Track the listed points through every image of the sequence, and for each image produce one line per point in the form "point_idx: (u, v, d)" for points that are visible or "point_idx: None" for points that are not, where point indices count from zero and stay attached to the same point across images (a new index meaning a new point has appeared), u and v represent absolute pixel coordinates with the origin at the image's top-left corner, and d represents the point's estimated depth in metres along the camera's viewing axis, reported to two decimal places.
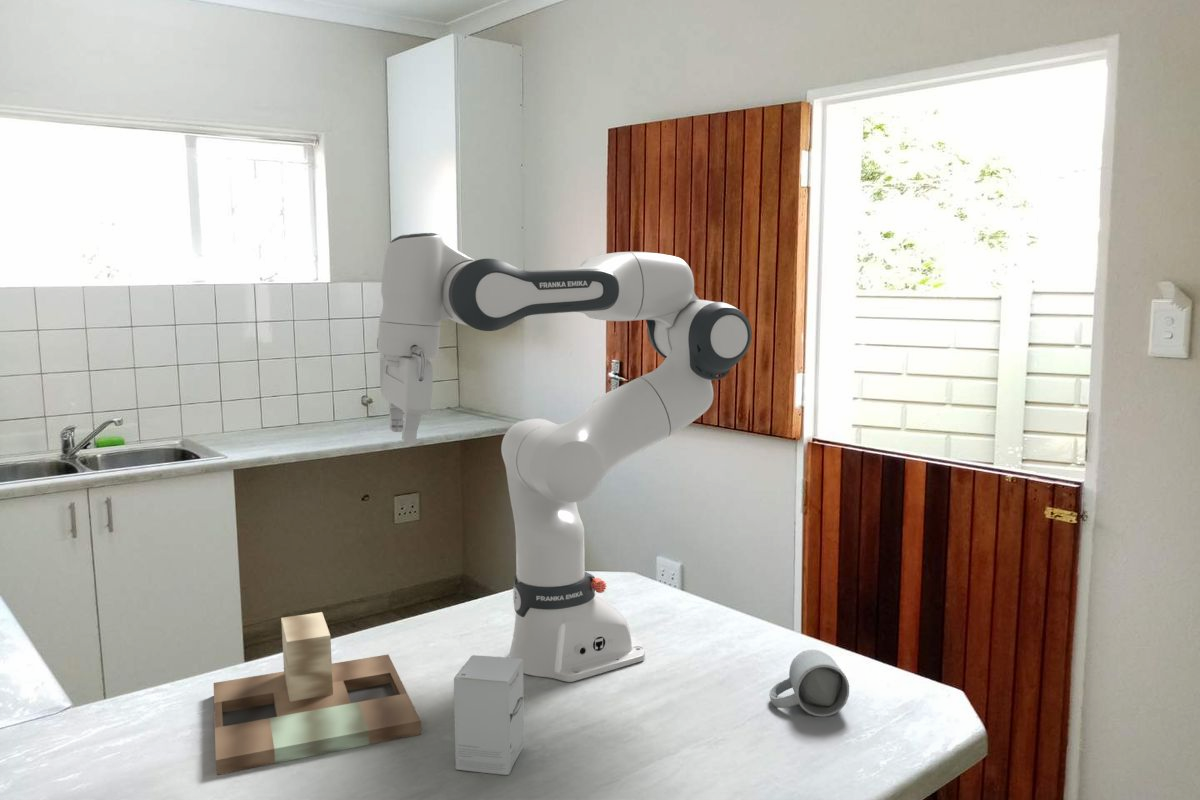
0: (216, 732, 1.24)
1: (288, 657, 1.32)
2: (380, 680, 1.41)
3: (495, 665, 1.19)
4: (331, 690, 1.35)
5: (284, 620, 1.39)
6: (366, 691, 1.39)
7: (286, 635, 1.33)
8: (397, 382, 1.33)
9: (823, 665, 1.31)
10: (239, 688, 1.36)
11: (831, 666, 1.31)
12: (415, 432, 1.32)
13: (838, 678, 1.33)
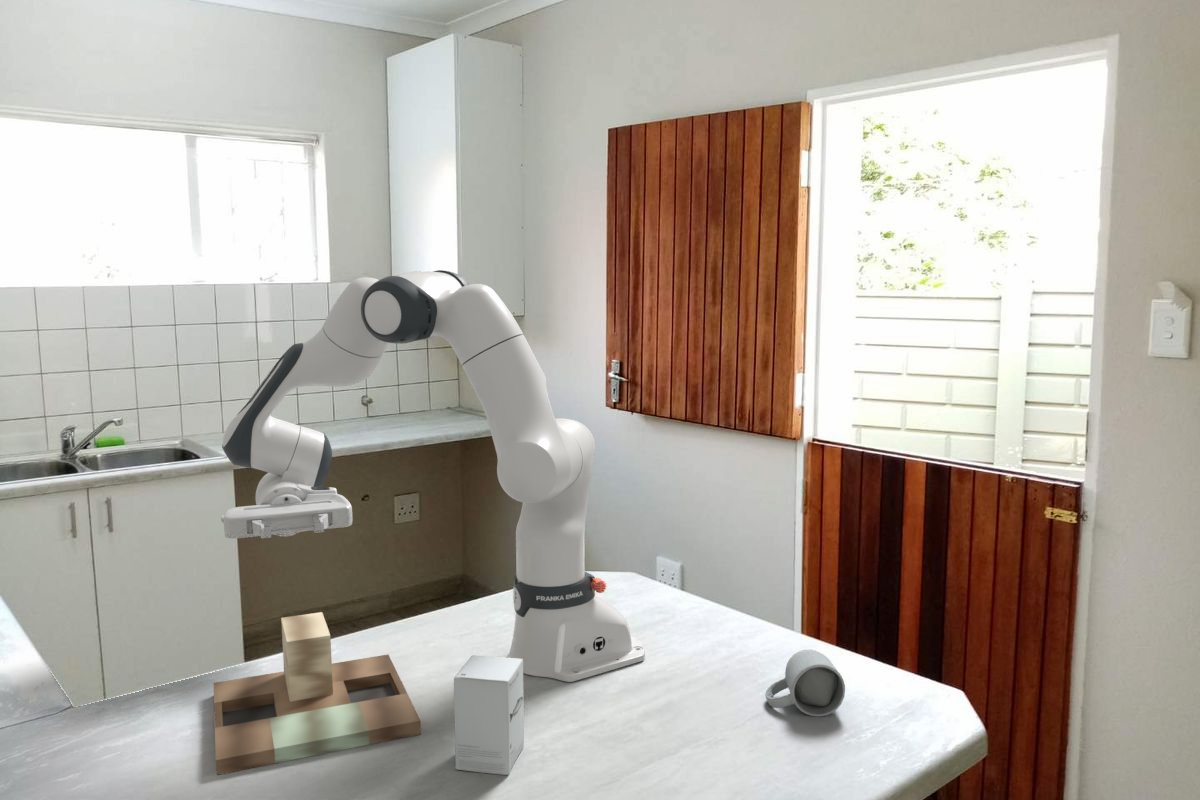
0: (216, 732, 1.24)
1: (288, 657, 1.32)
2: (380, 680, 1.41)
3: (495, 665, 1.19)
4: (331, 690, 1.35)
5: (284, 620, 1.39)
6: (366, 691, 1.39)
7: (286, 635, 1.33)
8: None
9: (819, 665, 1.31)
10: (239, 688, 1.36)
11: (827, 666, 1.31)
12: (260, 526, 1.46)
13: (834, 678, 1.33)
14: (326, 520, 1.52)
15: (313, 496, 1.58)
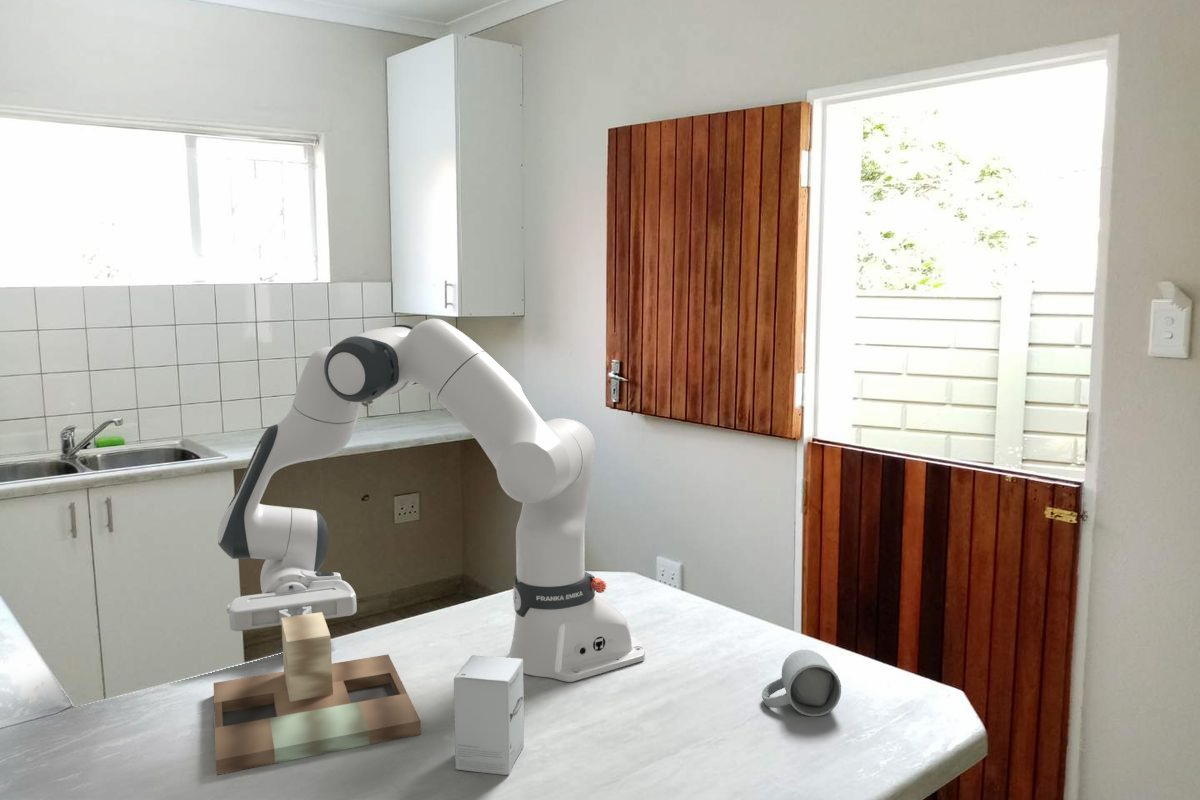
0: (216, 732, 1.24)
1: (288, 657, 1.32)
2: (380, 680, 1.41)
3: (495, 665, 1.19)
4: (331, 690, 1.35)
5: (284, 620, 1.39)
6: (366, 691, 1.39)
7: (286, 635, 1.33)
8: None
9: (815, 665, 1.31)
10: (239, 688, 1.36)
11: (823, 666, 1.31)
12: None
13: (830, 678, 1.33)
14: (310, 613, 1.52)
15: (317, 584, 1.60)
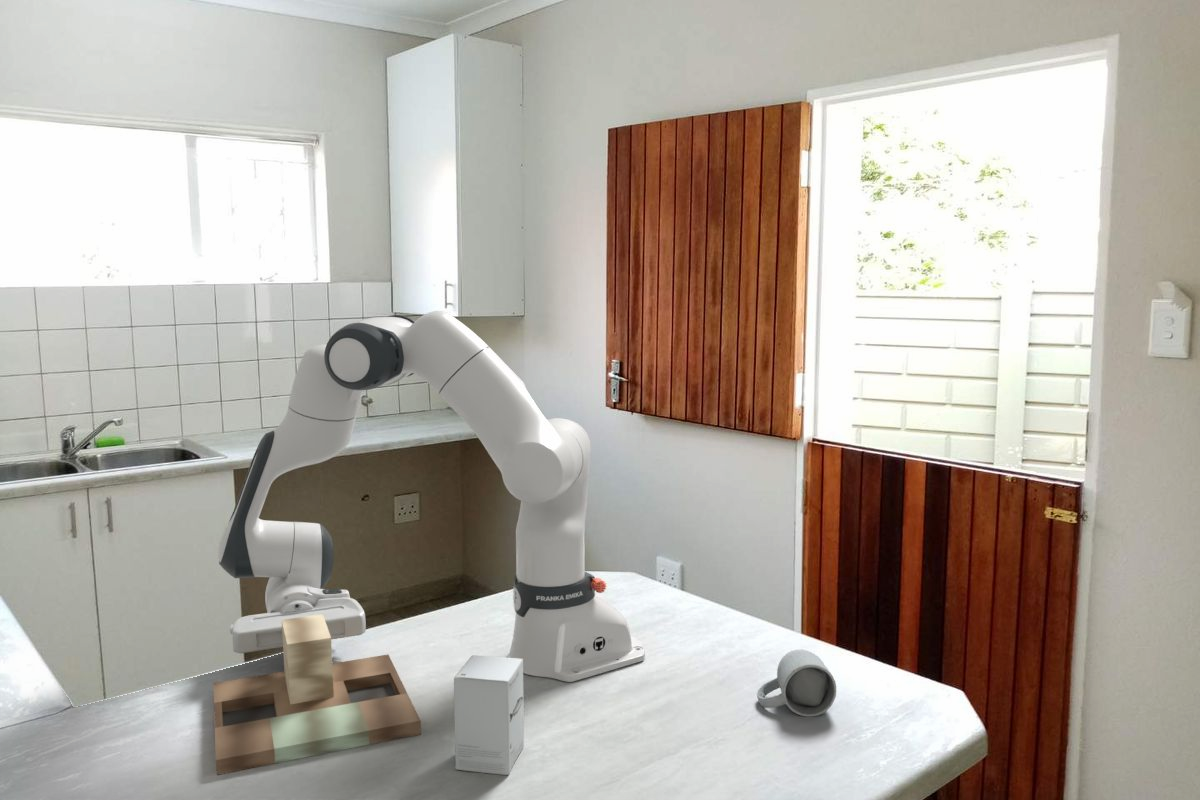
0: (216, 732, 1.24)
1: (288, 660, 1.31)
2: (380, 680, 1.41)
3: (495, 665, 1.19)
4: (332, 693, 1.34)
5: (284, 622, 1.38)
6: (366, 691, 1.39)
7: (286, 637, 1.33)
8: None
9: (810, 665, 1.31)
10: (239, 688, 1.36)
11: (818, 666, 1.31)
12: None
13: (825, 678, 1.33)
14: None
15: (325, 602, 1.52)
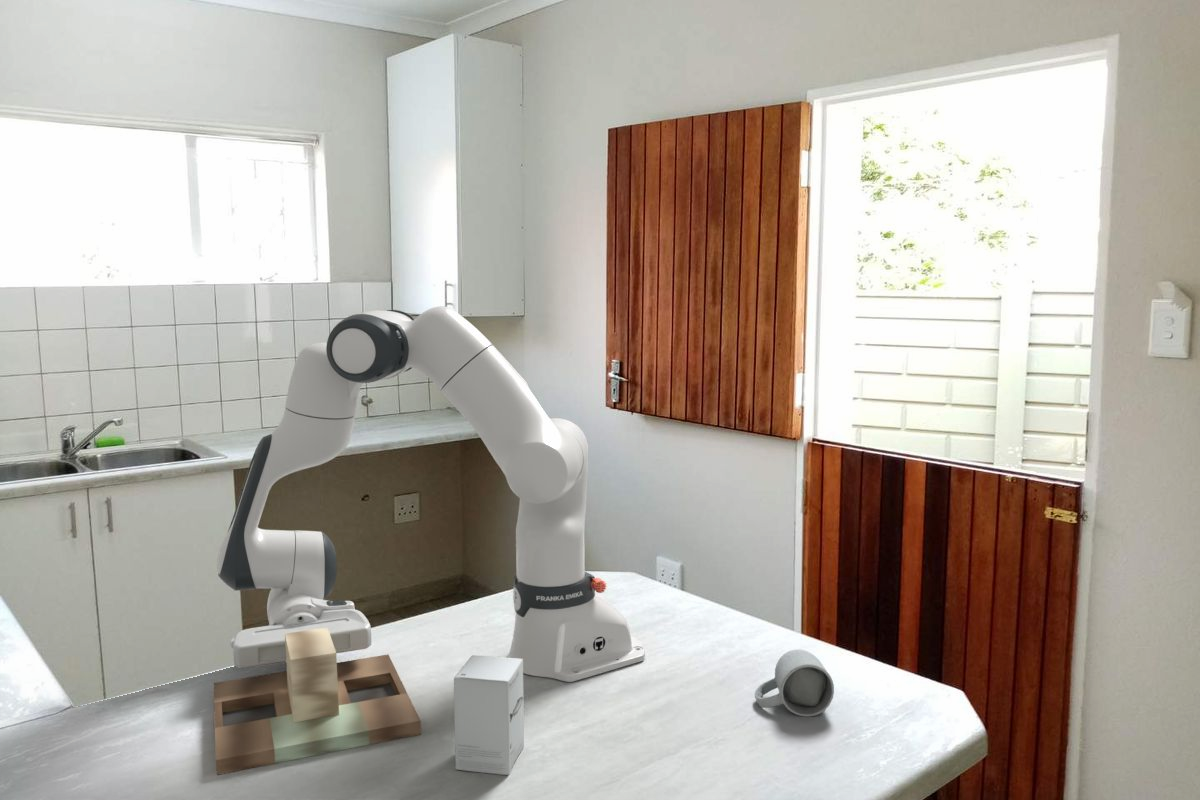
0: (216, 732, 1.24)
1: (292, 676, 1.25)
2: (380, 680, 1.41)
3: (495, 665, 1.19)
4: (337, 710, 1.28)
5: (288, 636, 1.33)
6: (366, 691, 1.39)
7: (290, 652, 1.27)
8: None
9: (808, 665, 1.31)
10: (239, 688, 1.36)
11: (816, 666, 1.31)
12: None
13: (823, 678, 1.33)
14: None
15: (329, 614, 1.47)
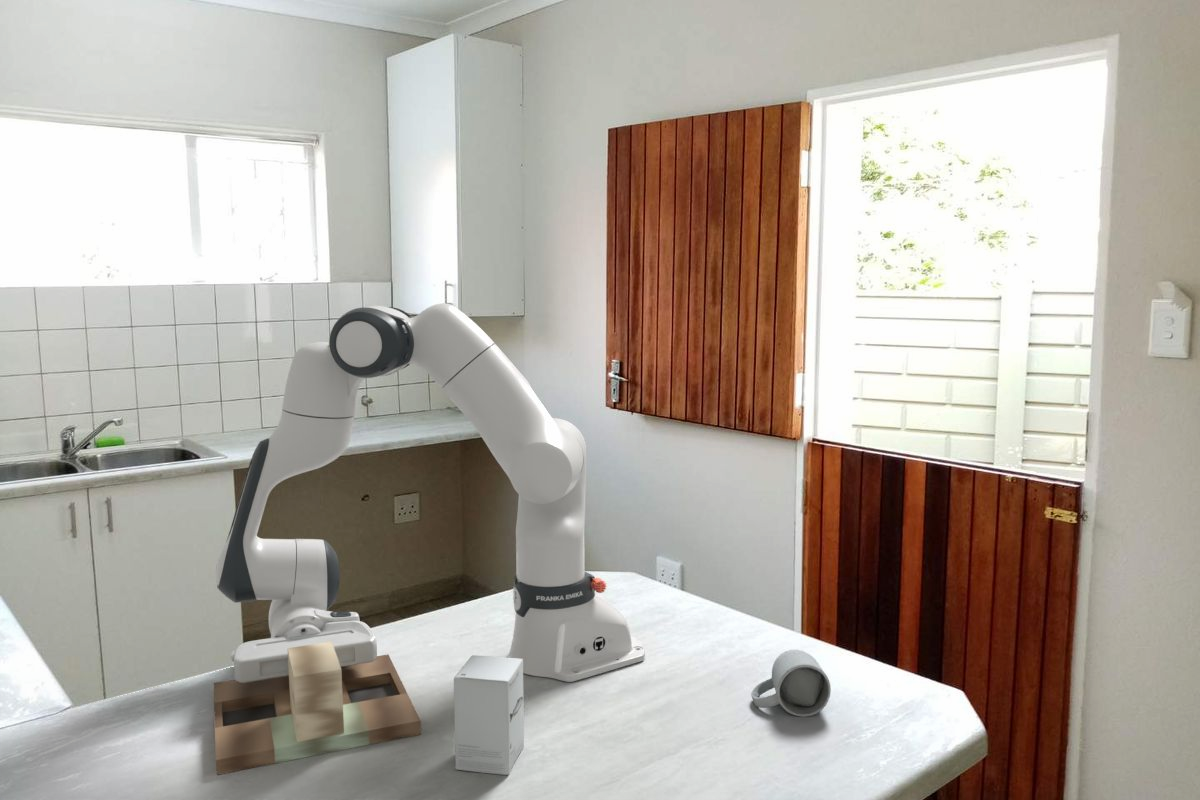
0: (216, 732, 1.24)
1: (295, 693, 1.20)
2: (380, 680, 1.41)
3: (495, 665, 1.19)
4: (342, 729, 1.23)
5: (291, 651, 1.28)
6: (366, 691, 1.39)
7: (293, 669, 1.22)
8: None
9: (804, 665, 1.31)
10: (239, 688, 1.36)
11: (812, 666, 1.31)
12: None
13: (820, 678, 1.33)
14: None
15: (333, 626, 1.42)
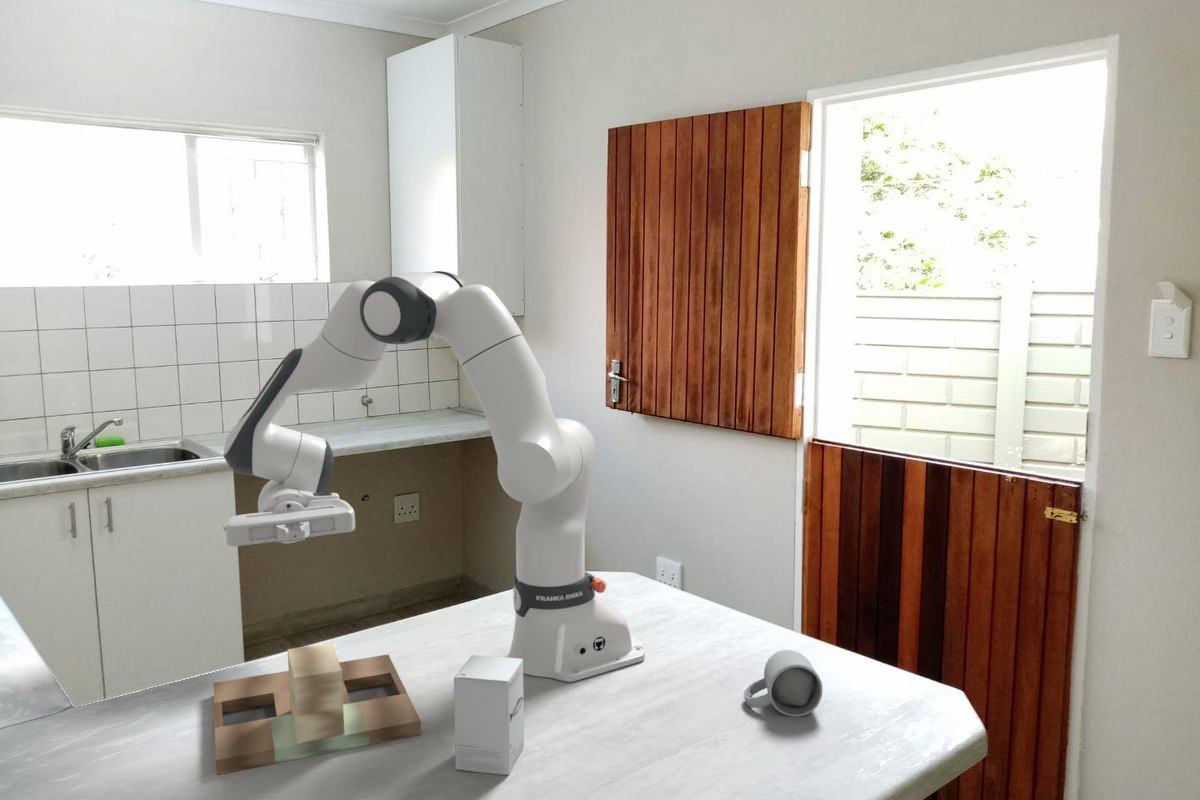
0: (216, 732, 1.24)
1: (295, 695, 1.20)
2: (380, 680, 1.41)
3: (495, 665, 1.19)
4: (342, 730, 1.23)
5: (291, 652, 1.27)
6: (366, 691, 1.39)
7: (293, 670, 1.22)
8: None
9: (796, 665, 1.31)
10: (239, 688, 1.36)
11: (804, 666, 1.31)
12: (284, 530, 1.47)
13: (812, 678, 1.33)
14: (307, 528, 1.50)
15: (315, 502, 1.58)
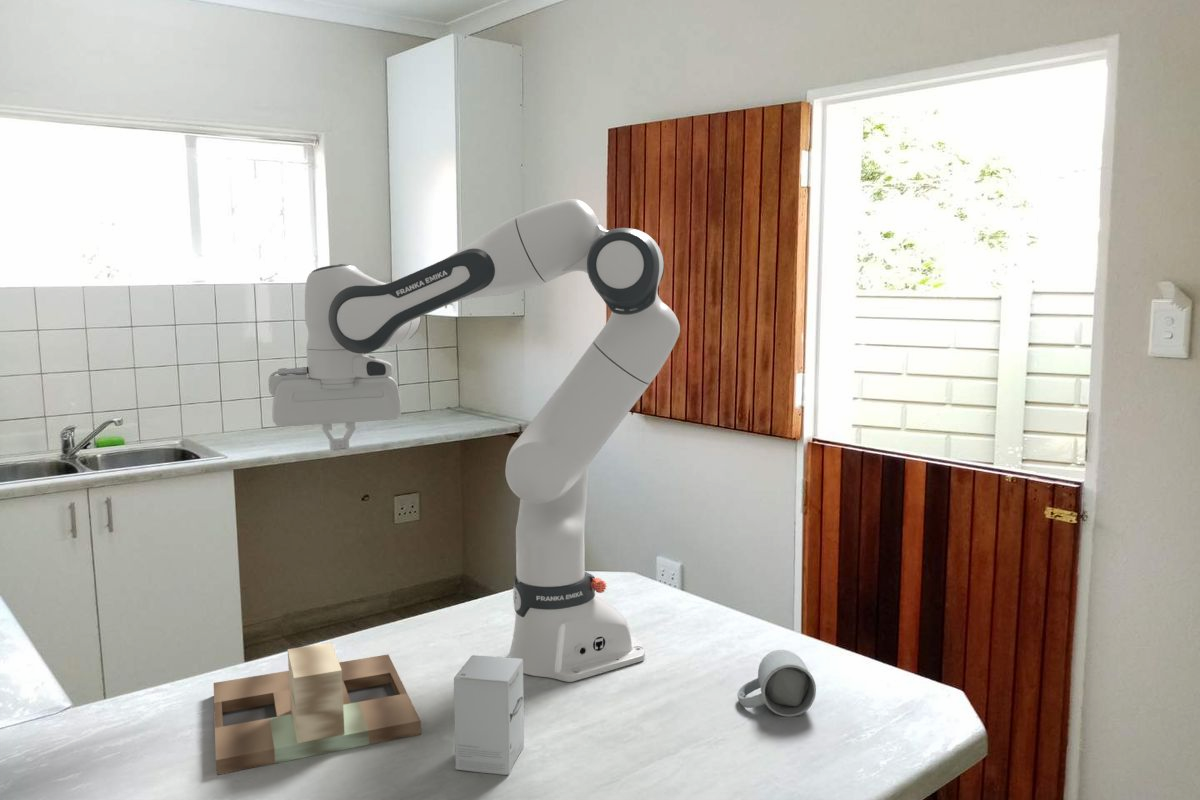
0: (216, 732, 1.24)
1: (295, 695, 1.20)
2: (380, 680, 1.41)
3: (495, 665, 1.19)
4: (342, 730, 1.23)
5: (291, 652, 1.27)
6: (366, 691, 1.39)
7: (293, 670, 1.22)
8: None
9: (789, 665, 1.31)
10: (239, 688, 1.36)
11: (797, 666, 1.31)
12: (330, 442, 1.50)
13: (805, 678, 1.33)
14: (352, 431, 1.51)
15: (366, 384, 1.49)
